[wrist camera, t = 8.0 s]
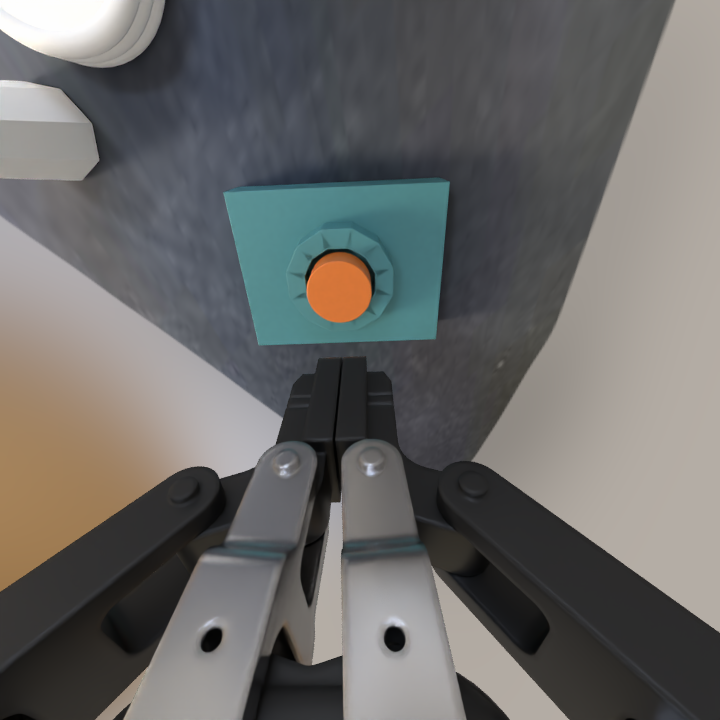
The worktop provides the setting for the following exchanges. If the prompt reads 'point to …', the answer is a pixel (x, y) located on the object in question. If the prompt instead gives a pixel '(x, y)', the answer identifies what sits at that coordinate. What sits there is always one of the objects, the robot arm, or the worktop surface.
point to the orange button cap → (339, 287)
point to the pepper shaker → (43, 134)
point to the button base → (342, 234)
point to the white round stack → (83, 28)
